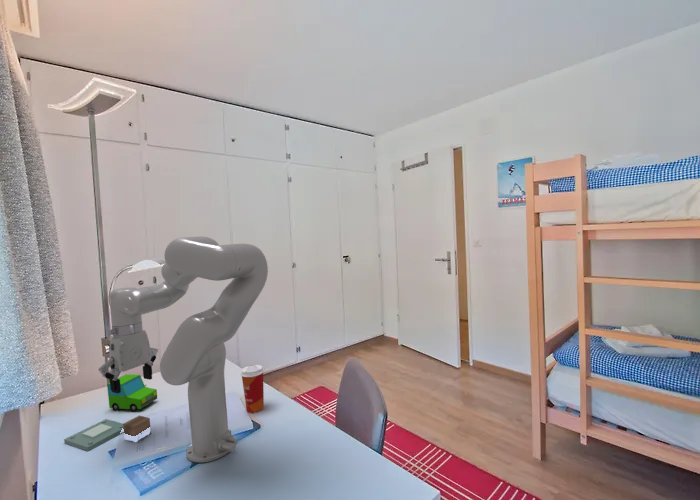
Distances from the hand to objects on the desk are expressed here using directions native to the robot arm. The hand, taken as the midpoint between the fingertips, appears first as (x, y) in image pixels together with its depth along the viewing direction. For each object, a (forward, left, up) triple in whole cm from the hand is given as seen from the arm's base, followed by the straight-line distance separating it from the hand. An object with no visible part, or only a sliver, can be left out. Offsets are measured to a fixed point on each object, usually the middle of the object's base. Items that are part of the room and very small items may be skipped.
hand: (132, 385), depth 105 cm
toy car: (+21, -13, -16) cm, 29 cm away
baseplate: (+13, +4, -16) cm, 21 cm away
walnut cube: (0, 0, -16) cm, 16 cm away
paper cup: (-24, -25, -16) cm, 38 cm away
